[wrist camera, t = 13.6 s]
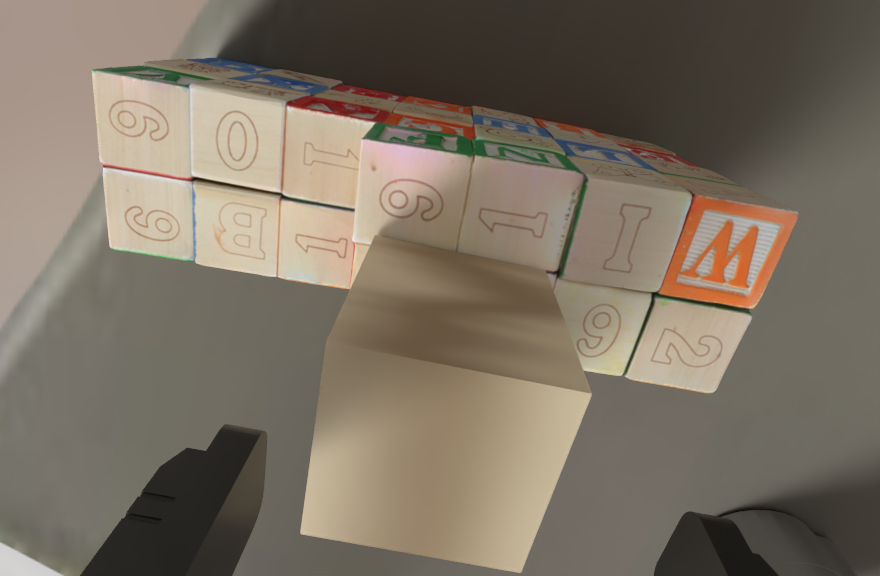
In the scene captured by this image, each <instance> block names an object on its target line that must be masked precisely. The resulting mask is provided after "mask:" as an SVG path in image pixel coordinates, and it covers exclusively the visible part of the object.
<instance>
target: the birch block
mask: <svg viewBox="0 0 880 576" xmlns="http://www.w3.org/2000/svg"><path fill="white" fill-rule="evenodd" d="M591 395H592V392H591V389H590V387H589V384H588V381H587V379H586V376H585V373H584V371H583V368H582V366H581V363H580V360H579V358H578V355H577V352H576V350H575V347H574V344H573V342H572V339H571V336H570V334H569V331H568V328H567V326H566V323H565V320H564V318H563V315H562V312H561V310H560V307H559V305H558V302H557V299H556V297H555V294H554V291H553V289H552V286H551V283H550V281H549V278H548V275H547V273H546V270H542V269H537V268H532V267H528V266H523V265H518V264H513V263H508V262H504V261H499V260H494V259H489V258H484V257H479V256H475V255H470V254H465V253H460V252H455V251H451V250H446V249H441V248H436V247H431V246H427V245H422V244H417V243H412V242H407V241H403V240H398V239H393V238H388V237H383V236H379V235H375V236H374V238H373V241H372V243H371V245H370V247H369V249H368V252H367V254H366V256H365V258H364V260H363V262H362V265H361V267H360V269H359V271H358V273H357V276H356V278H355V280H354V282H353V284H352V287H351V289H350V291H349V293H348V295H347V297H346V300H345V302H344V304H343V306H342V308H341V311H340V313H339V315H338V317H337V319H336V321H335V324H334V326H333V328H332V330H331V332H330V335H329V337H328V339H327V341H326V348H325V355H324V362H323V370H322V377H321V385H320V392H319V399H318V407H317V414H316V421H315V429H314V436H313V443H312V451H311V458H310V466H309V473H308V480H307V488H306V495H305V502H304V510H303V517H302V525H301V532H300V534H303V535H309V536H315V537H320V538H326V539H332V540H337V541H343V542H349V543H354V544H360V545H366V546H371V547H377V548H382V549H388V550H394V551H399V552H405V553H411V554H416V555H422V556H428V557H433V558H439V559H445V560H450V561H456V562H461V563H467V564H473V565H478V566H484V567H490V568H495V569H501V570H507V571H512V572H518V573H521V571H522V569H523V566H524V564H525V561H526V559H527V556H528V554H529V551H530V549H531V546H532V544H533V541H534V539H535V536H536V534H537V531H538V528H539V526H540V523H541V521H542V518H543V516H544V513H545V511H546V508H547V506H548V503H549V501H550V498H551V496H552V493H553V491H554V488H555V486H556V483H557V481H558V478H559V476H560V473H561V471H562V468H563V466H564V463H565V461H566V458H567V456H568V453H569V451H570V448H571V446H572V443H573V441H574V438H575V436H576V433H577V431H578V428H579V426H580V423H581V421H582V418H583V416H584V413H585V411H586V408H587V406H588V403H589V401H590V398H591Z"/></svg>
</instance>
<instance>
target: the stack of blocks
mask: <svg viewBox="0 0 880 576" xmlns="http://www.w3.org/2000/svg"><path fill="white" fill-rule="evenodd" d="M92 79H93V91H94V102H95V112H96V122H97V136H98V148H99V159H100V162H101V163H102V164H103V182H104V194H105V205H106V213H107V226H108V236H109V245H110V248H112V249H115V250H118V251H126V252H133V253H139V254H145V255H152V256H158V257H163V258H169V259H176V260H183V261H195V262H196V263H197V264H200V265H204V266H210V267H217V268H222V269H228V270H234V271H240V272H247V273H253V274H259V275H264V276H271V277H276V276H278V277H280V278H282V279H286V280H292V281H298V282H304V283H310V284H317V285H324V286H331V287H337V288H344V289H349V291H350V289H351V287H352V284H353V282H354V280H355V278H356V276H357V273H358V271H359V269H360V267H361V265H362V262H363V260H364V258H365V256H366V254H367V252H368V249H369V247H370V245H371V243H372V241H373V238H374V236H375V235H379V236H383V237H388V238H393V239H398V240H403V241H407V242H412V243H417V244H422V245H427V246H431V247H436V248H441V249H446V250H451V251H455V252H460V253H465V254H470V255H475V256H479V257H484V258H489V259H494V260H499V261H504V262H508V263H513V264H518V265H523V266H528V267H532V268H537V269H542V270H546V273H547V275H548V278H549V281H550V283H551V286H552V289H553V291H554V294H555V297H556V299H557V302H558V305H559V307H560V310H561V312H562V315H563V318H564V320H565V323H566V326H567V328H568V331H569V334H570V336H571V339H572V342H573V344H574V347H575V350H576V352H577V355H578V358H579V360H580V363H581V366H582V368H583V370H584V371H590V372H596V373H603V374H609V375H615V376H621V375H624V376H625V377H627V378H629V379H631V380H635V381H641V382H646V383H652V384H657V385H663V386H669V387H674V388H680V389H685V390H691V391H697V392H702V393H713V392H714V391H716V389H717V387H718V385H719V383H720V381H721V379H722V377H723V375H724V373H725V371H726V368H727V366H728V364H729V362H730V360H731V358H732V356H733V354H734V352H735V350H736V348H737V346H738V344H739V342H740V340H741V338H742V337H743V335H744V333H745V331H746V329H747V327H748V325H749V323H750V321H751V319H752V315H751V314H750V312H749V309H753V308H754V307H755V306H756V304H757V303H758V302H759V300H760V298H761V297H762V295H763V293H764V290H765V288H766V286H767V284H768V282H769V280H770V278H771V275H772V273H773V271H774V269H775V267H776V265H777V263H778V261H779V259H780V256H781V254H782V252H783V250H784V248H785V246H786V243H787V241H788V239H789V237H790V235H791V233H792V230H793V228H794V226H795V224H796V221H797V218H798V215H799V214H798V212H797V211H795V210H793V209H791V208H789V207H787V206H784V205H782V204H780V203H778V202H776V201H773V200H771V199H769V198H767V197H764V196H762V195H759V194H757V193H755V192H753V191H750V190H748V189H746V188H745V187H744V186H742V185H740V184H738V183H736V182H734V181H732V180H730V179H728V178H726V177H724V176H721V175H720V174H718V173H716V172H713V171H711V170H709V169H704V168H700V167H698V166H697V165H695V164H692V163H690V162H688V161H685V160H683V159H681V158H679V157H677V156H675V153H674V152H672V151H669V150H667V149H664V148H662V147H660V146H657V145H655V144H652V143H648V142H643V141H638V140H633V139H628V138H623V137H618V136H613V135H608V134H603V133H598V132H596V131H594V130H592V129H587V128H582V127H577V126H572V125H567V124H562V123H557V122H552V121H547V120H542V119H537V118H531V117H527V116H523V115H519V114H514V113H509V112H504V111H499V110H494V109H488V108H483V107H478V106H471V107H463V106H460V105H454V104H449V103H443V102H439V101H433V100H428V99H423V98H418V97H413V96H407V97H405V96H400V95H396V94H391V93H386V92H381V91H376V90H370V89H365V88H359V87H355V86H350V85H344V84H343V82H342V81H339V80H334V79H329V78H324V77H319V76H314V75H309V74H304V73H299V72H293V71H288V70H283V69H272V68H267V67H262V66H257V65H252V64H247V63H242V62H236V61H231V60H226V59H220V58H205V59H187V60H183V59H179V60H162V61H149V62H144V65H143V66H128V67H118V68H104V69H95V70H92Z"/></svg>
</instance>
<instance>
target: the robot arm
mask: <svg viewBox="0 0 880 576" xmlns="http://www.w3.org/2000/svg"><path fill="white" fill-rule="evenodd" d="M266 450H267V433H266V432H265V431H260V430H255V429H249V428H244V427H238V426H233V425H228V424H226V425H224V426H223V427H222V428H221V429H220V431H219V432H218V434H217V435H216V437H215V438H214V440H213V441H212V443H211V444H210V446H209V447H208V449H207V450H206V451H202V450H197V449H191V448H186V449H185V450H183V451H182V452H180V453H179V454H178V455H176V456H175V457H173V458H172V459H170V460H169V461H168V462H166V463H165V464H163V465H162V466H160V468H159V469H158V470H157V472H156V473H155V474H154V476H153V477H152V478H151V480H150V481H149V483H148V484H147V485H146V487H145V488H144V489H143V491H142V494H141V496H140V497H137V499H136V500H135V502H134V503H133V504H132V506H131V507H130V508H129V510H128V511H127V512H126V516H125V518H122V519H121V521H120V522H119V523H118V525H117V526H116V527H115V529H114V530H113V532H112V533H111V534H110V536H109V537H108V538H107V540H106V541H105V542H104V544H103V545H102V547H101V548H100V549H99V551H98V552H97V553H96V555H95V556H94V557H93V559H92V560H91V562H90V563H89V564H88V566H87V567H86V568H85V570H84V571H83V572H82V574H81V575H80V576H232V575H233V572H234V570H235V568H236V566H237V563H238V561H239V559H240V557H241V554H242V552H243V550H244V548H245V546H246V543H247V541H248V539H249V537H250V534H251V532H252V530H253V528H254V525H255V523H256V520H257V517H258V514H259V511H260V507H261V503H262V498H263V492H264V479H265V464H266ZM654 576H857V575H856V574H855V573H854V571H853V570H852V569H851V567H850V566H849V565H848V563H847V562H846V561H845V559H844V558H843V557H842V555H841V554H840V553H839V551H838V550H837V549H836V547H835V546H834V544H833V543H832V542H831V540H830V539H829V538H827V537H821V536H817V535H815V534H814V533H813V532H812V531H811V530H810V529H809V528H808V526H807V525H806V524H805V523H803V522H802V521H800V520H799V519H797V518H796V517H793V516H790V515H788V514H785V513H782V512H777V511H771V510H749V511H741V512H736V513H732V514H729V515H725V516H722V517H717V516H711V515H706V514H701V513H695V512H687V513H685V514H684V515H683V516H682V518H681V519H680V521H679V523H678V525H677V527H676V528H675V530H674V532H673V534H672V536H671V538H670V540H669V542H668V543H667V545H666V547H665V549H664V551H663V553H662V555H661V557H660V558H659V560H658V562H657V565H656V567H655V572H654Z"/></svg>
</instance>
